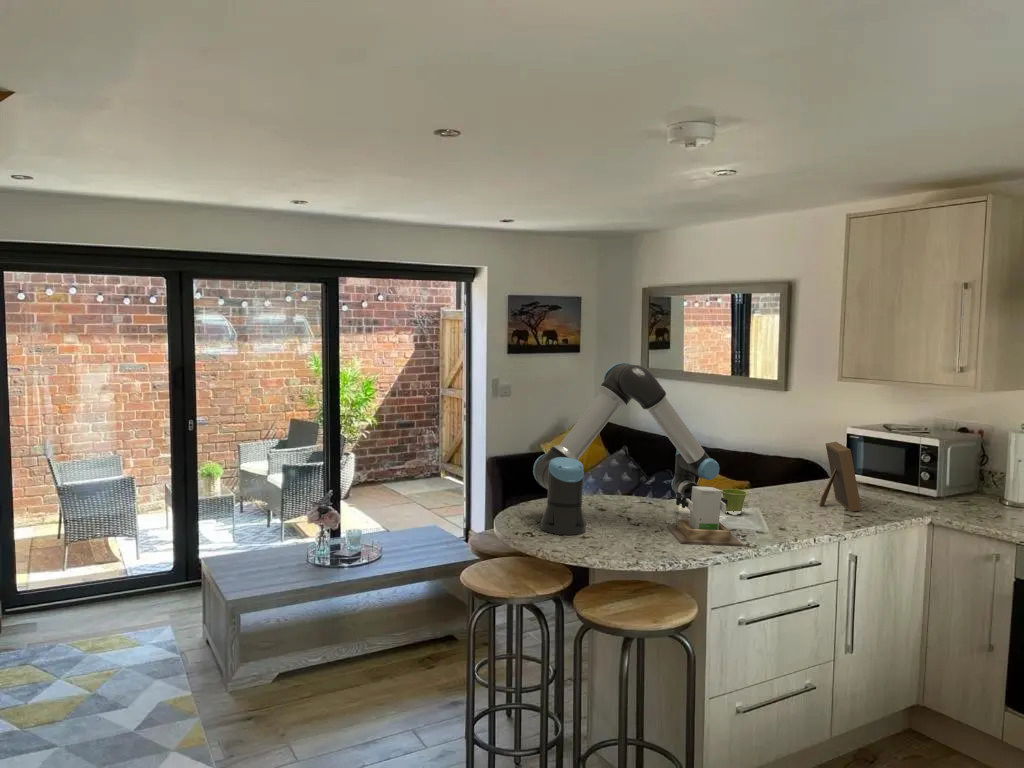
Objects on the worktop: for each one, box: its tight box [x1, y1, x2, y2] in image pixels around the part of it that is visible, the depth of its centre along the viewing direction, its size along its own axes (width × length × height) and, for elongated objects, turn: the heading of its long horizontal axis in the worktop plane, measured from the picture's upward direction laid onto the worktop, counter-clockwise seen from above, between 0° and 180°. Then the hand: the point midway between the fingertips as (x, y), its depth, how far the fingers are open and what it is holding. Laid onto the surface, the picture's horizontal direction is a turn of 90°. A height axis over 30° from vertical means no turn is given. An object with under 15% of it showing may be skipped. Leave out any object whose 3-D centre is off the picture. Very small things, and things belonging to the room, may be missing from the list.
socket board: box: [666, 518, 743, 547], centre depth 253 cm, size 20×20×4 cm
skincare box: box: [688, 485, 723, 530], centre depth 253 cm, size 8×7×16 cm
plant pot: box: [721, 488, 748, 512], centre depth 288 cm, size 9×9×9 cm
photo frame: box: [818, 441, 862, 513], centre depth 311 cm, size 15×22×25 cm
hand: (708, 507), depth 248 cm, fingers open, 10 cm apart
